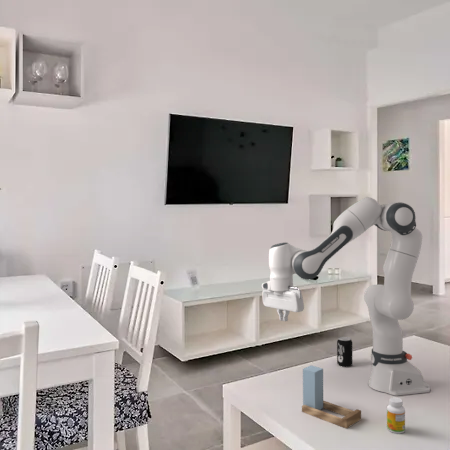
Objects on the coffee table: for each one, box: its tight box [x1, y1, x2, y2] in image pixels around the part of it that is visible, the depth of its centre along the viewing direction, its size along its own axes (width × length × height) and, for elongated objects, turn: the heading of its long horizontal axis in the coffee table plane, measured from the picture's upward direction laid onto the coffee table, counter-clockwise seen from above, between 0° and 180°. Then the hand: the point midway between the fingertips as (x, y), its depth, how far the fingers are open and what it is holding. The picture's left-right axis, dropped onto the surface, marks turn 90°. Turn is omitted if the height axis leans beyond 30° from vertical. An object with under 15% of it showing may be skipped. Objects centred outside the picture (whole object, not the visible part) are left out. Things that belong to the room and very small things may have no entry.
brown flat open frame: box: [301, 400, 362, 429], centre depth 159 cm, size 18×9×3 cm, turn 44°
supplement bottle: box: [386, 396, 406, 435], centre depth 148 cm, size 5×5×10 cm
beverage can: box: [336, 336, 353, 368], centre depth 208 cm, size 7×7×12 cm
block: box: [302, 364, 324, 411], centre depth 164 cm, size 5×5×14 cm
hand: (283, 320), depth 182 cm, fingers closed
